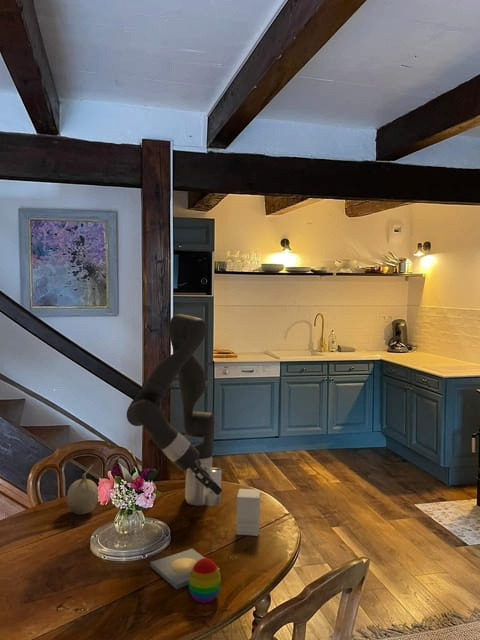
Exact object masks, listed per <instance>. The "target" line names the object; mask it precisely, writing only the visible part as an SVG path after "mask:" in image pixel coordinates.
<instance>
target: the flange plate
mask: <svg viewBox="0 0 480 640" xmlns="http://www.w3.org/2000/svg"><path fill="white" fill-rule="evenodd" d="M203 558H205V557H204V556H203V555H202V554H201V553H199V552H197V551H196V550H195V549H194V548H190V549H187V550H184V551H181V552H178V553H175V554H172V555H168V556H165V557H163V558H159V559H157V560H153V561H150V567H151V569H152V570H154V571H155V572H156V573H157V574H158V575H160V577H161V578H163V579H164V580H165V581H167V583H169V584H170V585H171V586H172V587H173V588H174V589H175V590H179V589H181V588H184V587H186V586H189V577H190V573H191V570H192V568H193V567H194V565H195V564H196V563H197V562H198V561H199V560H200V559H203ZM217 568H218V570H219V573H220V574H221V569H220V568H219V567H218V566H217Z"/></svg>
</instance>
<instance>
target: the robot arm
mask: <svg viewBox="0 0 480 640" xmlns="http://www.w3.org/2000/svg"><path fill="white" fill-rule="evenodd" d="M168 332H169V333H168V334H169V339H170V343H171V345H172V347H171V348H172V349H173V353H172V354H171V355H168V356H167V357H166V358H164V359H163V360H161V361H160V362H159V363H158V364H157V365H155V367H154V368H153V370H152V371H151V373H150V374H149V375H148V378H147V379H146V381H145V383H144V385H143V387H142V388H141V389H140V391H139V392H138V393H137V394H136V396H135V397H134V398H133V400H132V401H131V403H130V404H129V406H128V408H127V411H126V419H127V421H128V423H129V424H131V426H135V427H141V426H144V427H145V429H147V431H148V432H149V438H150V440H152V442H153V443H154V444H155V445H156V446H157V447H158V448H159V449H160V450H161V451H162V452H163V453H164V455H165V456H166V457H167V458H168V459H169V460H170V461H171V462H172V463H173V464H175V466H176V467H177V468H178V469H179V470H180V471H182V472H183V471H184V472H185V471H186V473H185V487H184V488H185V491H184V498H185V501H186V503H187V504H189V505H192V506H206V505H205V504H204V503H203V495H204V486H205V487H206V488H210V489H211V490H212V491H213V492H214V493H215V494H216V495H219V494H220V493H221V494H222V492H223V489H222V487H221V488H220V487H219V486H218V485H217V484H216V483H215V482H214V480H213V479H212V478H211V477H210V474H209V472H208V471H207V470H206V468H211V467H213V451H214V449H213V448H214V435H215V434H214V432H215V423H216V422H215V415H214V414H213V413H212V412H208V411H195V410H194V407H195V405H196V404H197V402H198V401H199V399H201V397H202V396H203V394H204V392H205V391H206V389H207V380H206V374H205V373H206V372H205V369H204V367H203V365H202V363H201V362H200V360H199V359H198V357H197V356H196V355H195V352H196V351H197V349H198V348H199V347H200V345H202V343H203V341H204V339H205V337H206V335H207V323H206V321H205V320H204V319H202V318H201V317H196V316H192V315H187V314H182V313H178V314H174V315H173V316H172V317H171V319H170V322H169V327H168ZM176 377H177V378H178V379H177V380H178V387H179V390H180V397H181V403H182V414H183V415H182V417H183V419H182V420H183V430H184V433H185V435H186V436H188V437H194V438H203V440H202V441H200V442H197V443H195V444H194V443H193V444H192V443H191V442H190V441H189V440H188V439H187V438H186V437H185V435H184V434H182V433H180V432H179V431H178V430H177V429H176V428H175V427H174V426H173V425H172V424H170V422H169V421H168V420H167V418H166V417H165V414H164V413H163V411H162V410H161V409H160V407H159V406H158V405H157V404H158V403H159V402H160V401H161V400H162V399H164V397H166V394H167V393H168V392H169V389H170V387H171V386H172V384H173V382H174V380H175V378H176ZM207 480H209V482H208V483H206V481H207Z"/></svg>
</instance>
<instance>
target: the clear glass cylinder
mask: <svg viewBox="0 0 480 640" xmlns="http://www.w3.org/2000/svg"><path fill="white" fill-rule="evenodd" d="M206 470H207V471H208V472H209V474H210V477H211V478H212V479H213V480H214V482H215V483H216V484H217V485H218V486H219V487H220V488H221V489H222V473H223V471H222V469H221V467H213V466H212V467H211V468H206ZM208 482H209V480H207V481H206V483H208ZM221 494H222V492H221V493H220V494H219V495H216V494H215V493H214V492H213V491H212V490H211V489H210V488H206V487H205V486H204V495H203V503H204V504H205V505H204V506H209V507H216V506H219V505H221V498H222V496H221Z"/></svg>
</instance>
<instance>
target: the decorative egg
mask: <svg viewBox="0 0 480 640" xmlns="http://www.w3.org/2000/svg"><path fill="white" fill-rule="evenodd" d="M217 567H218V566H217V565H216V563H215V562H214V561H213V560H212V559H210V558H207V557H204V558H203V559H200V560H199V561H198V562H197V563H196V564H195V565H194V567H193V568H192V570H191V573H190V577H189V585H188V590H189V593H190V595H191V597H192V598H193V599H194V601H196V602H197V603H200V604H208V603H211V602H213V601H215V599H216V598H217V597H218V595H219V592H220V590H221V586H222V579H221V572H220V573H219V570H218V568H219V567H218V568H217Z"/></svg>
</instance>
